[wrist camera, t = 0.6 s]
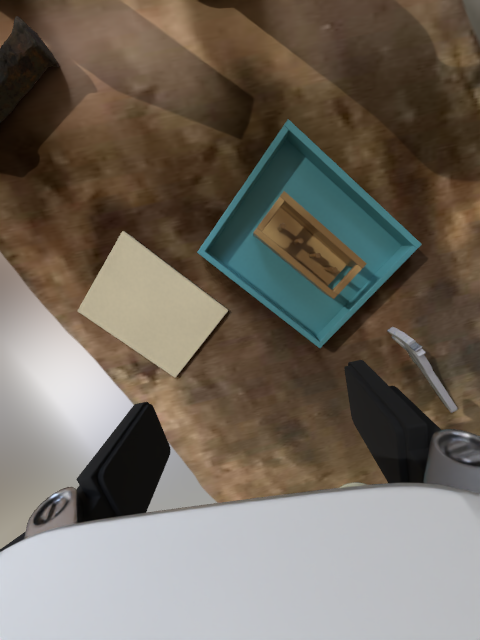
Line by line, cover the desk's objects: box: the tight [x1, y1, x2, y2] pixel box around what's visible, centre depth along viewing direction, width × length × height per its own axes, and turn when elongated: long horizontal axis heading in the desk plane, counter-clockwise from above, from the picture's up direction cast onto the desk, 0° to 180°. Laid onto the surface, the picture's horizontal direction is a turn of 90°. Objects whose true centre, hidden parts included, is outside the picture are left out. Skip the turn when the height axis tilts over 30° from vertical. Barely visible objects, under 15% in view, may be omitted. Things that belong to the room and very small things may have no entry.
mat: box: [78, 231, 228, 378], centre depth 38 cm, size 16×20×1 cm
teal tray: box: [197, 119, 421, 348], centre depth 33 cm, size 20×24×3 cm
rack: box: [253, 191, 367, 299], centre depth 32 cm, size 6×14×5 cm, turn 52°
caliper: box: [387, 327, 457, 413], centre depth 36 cm, size 20×1×6 cm, turn 42°
